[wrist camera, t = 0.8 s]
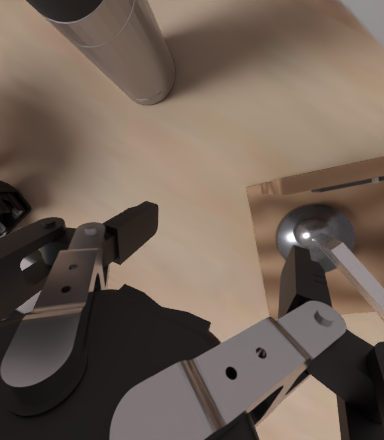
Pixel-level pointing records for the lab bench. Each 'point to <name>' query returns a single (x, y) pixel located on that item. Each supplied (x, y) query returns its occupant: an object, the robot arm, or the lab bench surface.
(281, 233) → the cam foot
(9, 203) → the end cap
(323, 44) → the lab bench surface
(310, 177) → the levelling base
